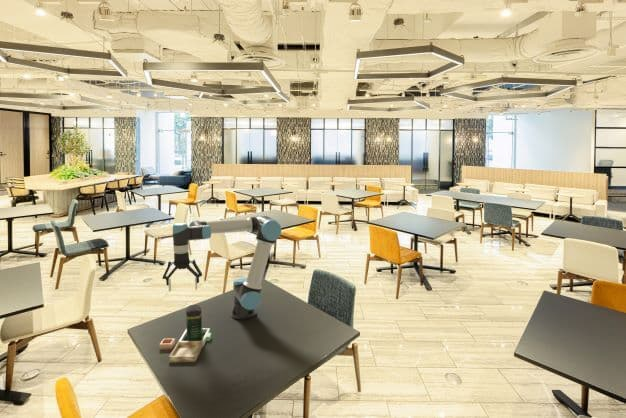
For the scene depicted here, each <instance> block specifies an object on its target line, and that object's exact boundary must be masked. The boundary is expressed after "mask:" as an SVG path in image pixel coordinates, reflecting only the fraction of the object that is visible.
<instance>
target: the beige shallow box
mask: <svg viewBox="0 0 626 418" xmlns="http://www.w3.org/2000/svg"><path fill="white" fill-rule="evenodd" d="M178 341H179V340H178ZM178 341H177V343H175V345H174V347H173V348H172V350H171V352H170V353H169V355H168V362H169V363H196V362H197V360H198V357H199V356H200V354H201V351H202V349H203V347H204V346H203V341H202V340H201V341H187V340H184V341H179V342H178Z"/></svg>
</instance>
